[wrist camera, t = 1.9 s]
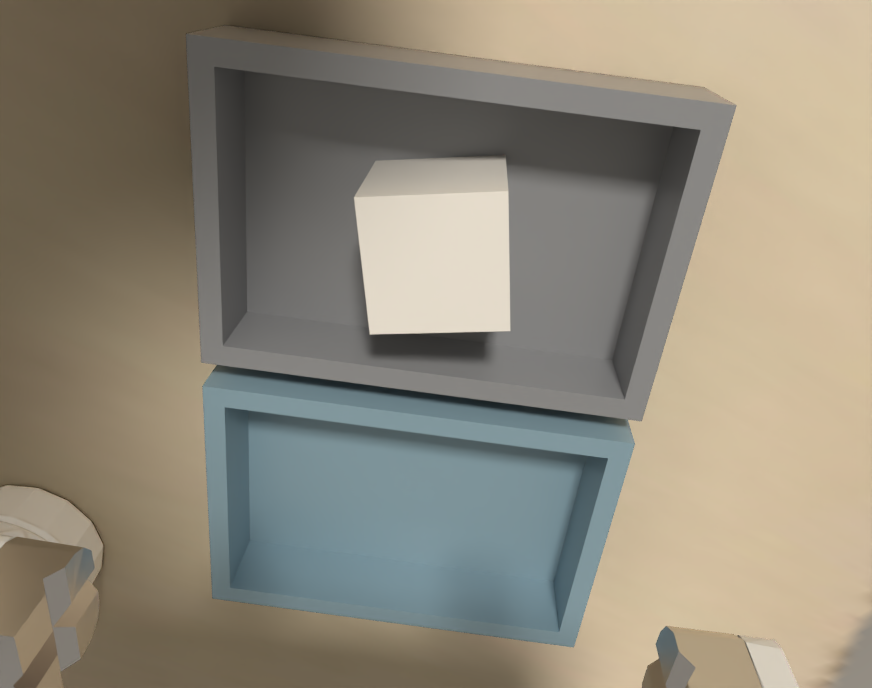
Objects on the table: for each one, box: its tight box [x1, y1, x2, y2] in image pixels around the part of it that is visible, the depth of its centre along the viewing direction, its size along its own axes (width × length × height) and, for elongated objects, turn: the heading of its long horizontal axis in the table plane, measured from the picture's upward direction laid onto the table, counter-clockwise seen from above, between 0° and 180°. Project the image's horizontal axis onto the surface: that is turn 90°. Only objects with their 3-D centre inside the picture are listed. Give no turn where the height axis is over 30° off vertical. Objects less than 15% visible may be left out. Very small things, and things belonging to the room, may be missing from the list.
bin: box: [202, 365, 635, 647], centre depth 30 cm, size 11×16×4 cm
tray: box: [186, 25, 737, 421], centre depth 25 cm, size 11×16×4 cm
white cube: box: [354, 155, 510, 334], centre depth 24 cm, size 4×4×4 cm
